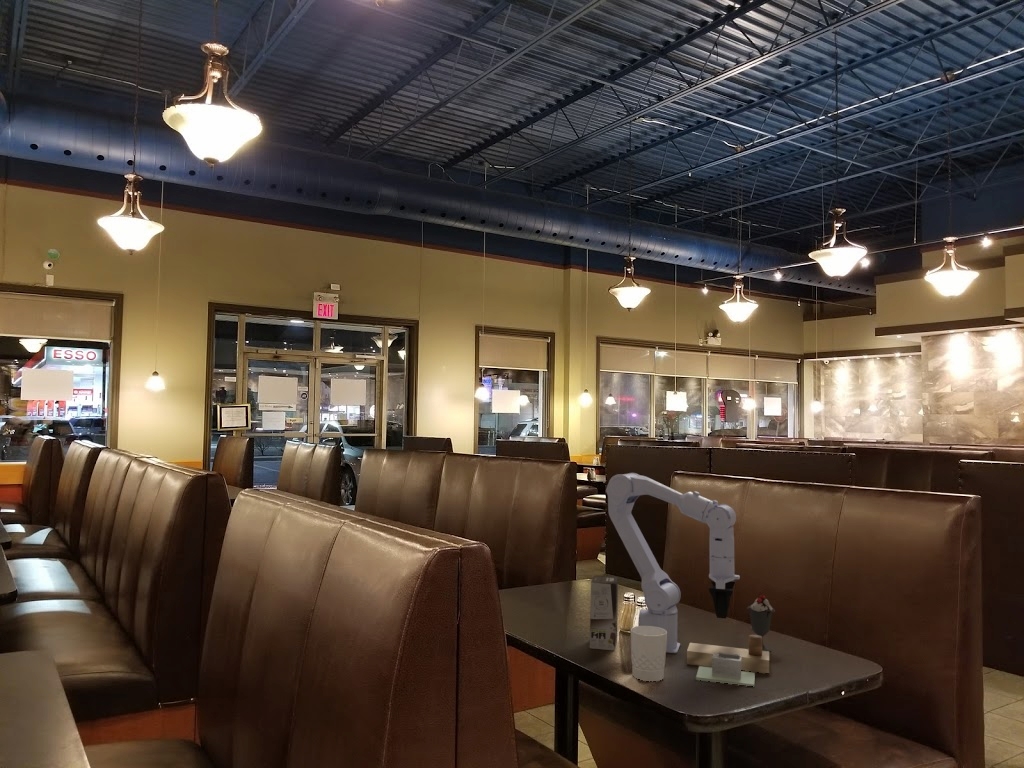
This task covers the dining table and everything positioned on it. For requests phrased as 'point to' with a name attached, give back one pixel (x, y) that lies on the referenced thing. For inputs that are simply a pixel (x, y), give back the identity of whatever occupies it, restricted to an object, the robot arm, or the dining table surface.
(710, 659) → the panel with round knob
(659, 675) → the white cup
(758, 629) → the sundae
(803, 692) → the dining table surface
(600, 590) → the coffee box
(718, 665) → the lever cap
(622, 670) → the dining table surface
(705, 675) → the board
